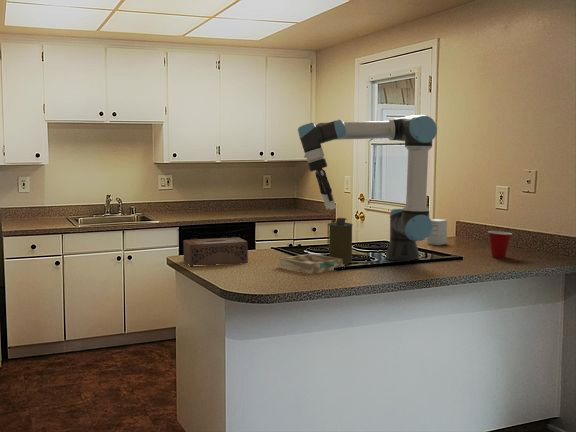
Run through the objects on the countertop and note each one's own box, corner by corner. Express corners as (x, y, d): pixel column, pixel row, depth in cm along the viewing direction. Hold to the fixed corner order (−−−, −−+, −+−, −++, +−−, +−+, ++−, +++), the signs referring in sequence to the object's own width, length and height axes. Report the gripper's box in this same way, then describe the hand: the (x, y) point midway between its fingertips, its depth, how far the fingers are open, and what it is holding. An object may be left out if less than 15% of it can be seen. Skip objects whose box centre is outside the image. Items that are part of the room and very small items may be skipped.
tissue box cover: (190, 267, 301) (189, 244, 300) (183, 262, 315) (183, 240, 313) (247, 264, 309) (247, 241, 308) (239, 258, 323) (239, 237, 322)
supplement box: (435, 242, 371) (436, 218, 369) (447, 243, 365) (447, 219, 364) (426, 243, 366) (427, 219, 365) (438, 245, 360) (438, 221, 359)
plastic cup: (516, 258, 322) (517, 232, 320) (497, 259, 318) (498, 233, 316) (500, 254, 332) (501, 229, 330) (482, 256, 327) (482, 230, 326)
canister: (354, 261, 314) (354, 217, 312) (349, 265, 304) (350, 219, 302) (330, 260, 317) (330, 216, 314) (325, 264, 307) (325, 219, 304)
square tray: (311, 262, 312) (311, 253, 312) (344, 268, 298) (344, 258, 297) (277, 267, 299) (277, 258, 298) (310, 274, 284) (310, 264, 284)
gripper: (305, 164, 304) (319, 210, 305) (310, 161, 279) (326, 212, 280) (321, 159, 304) (336, 205, 305) (328, 155, 280) (343, 206, 281)
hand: (331, 208), depth 293 cm, fingers open, 13 cm apart
